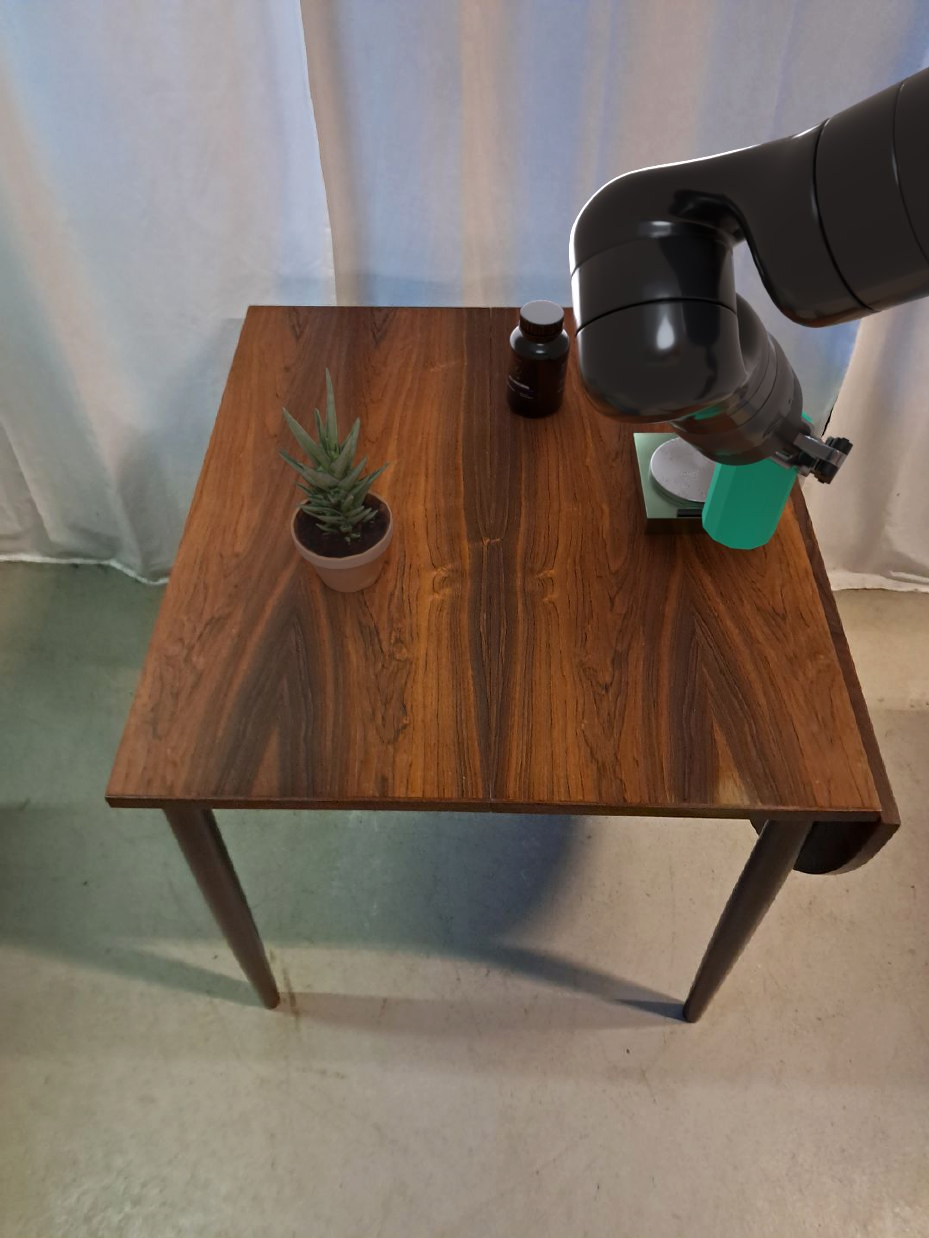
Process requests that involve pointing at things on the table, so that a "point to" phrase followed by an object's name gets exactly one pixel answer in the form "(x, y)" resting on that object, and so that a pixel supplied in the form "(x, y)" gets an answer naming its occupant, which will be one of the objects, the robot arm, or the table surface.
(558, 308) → the supplement bottle
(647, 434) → the scale
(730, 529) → the candle
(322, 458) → the potted plant
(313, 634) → the table surface
